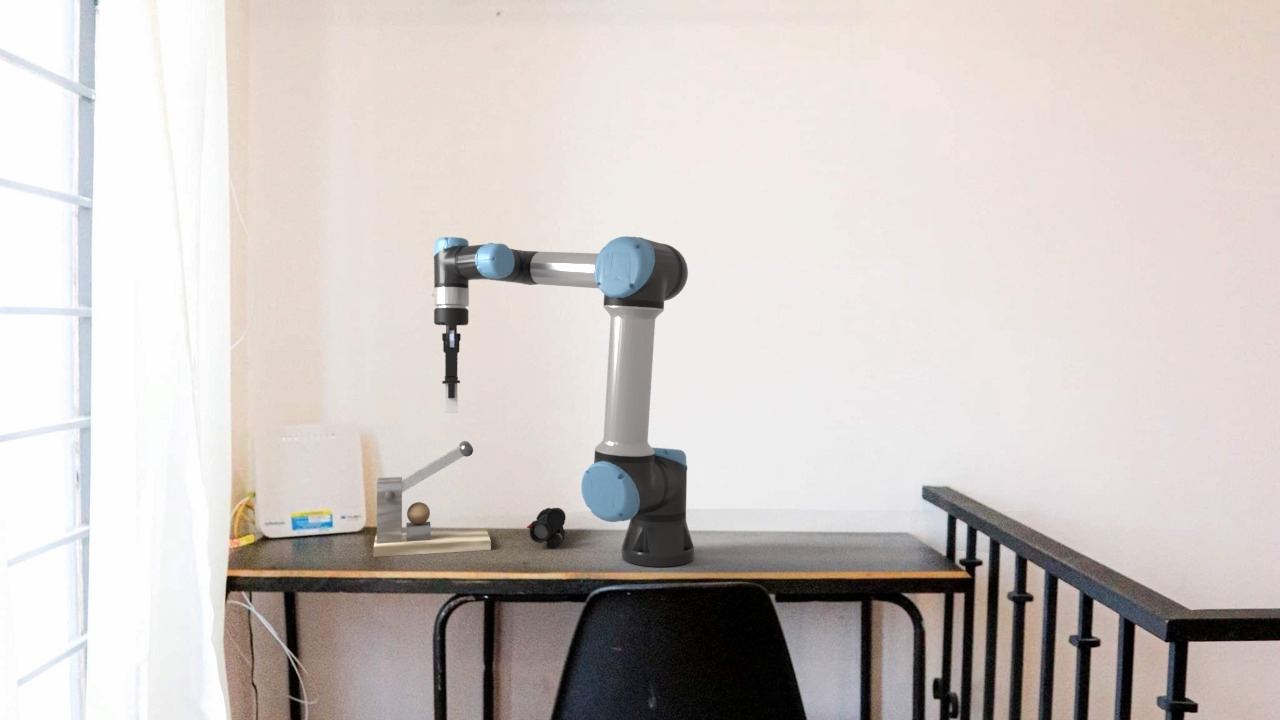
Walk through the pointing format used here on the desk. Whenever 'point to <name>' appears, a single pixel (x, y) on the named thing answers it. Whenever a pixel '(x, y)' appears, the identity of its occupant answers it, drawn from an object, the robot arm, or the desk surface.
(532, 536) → the night vision scope
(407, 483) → the lever
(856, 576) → the desk surface
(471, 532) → the press base
